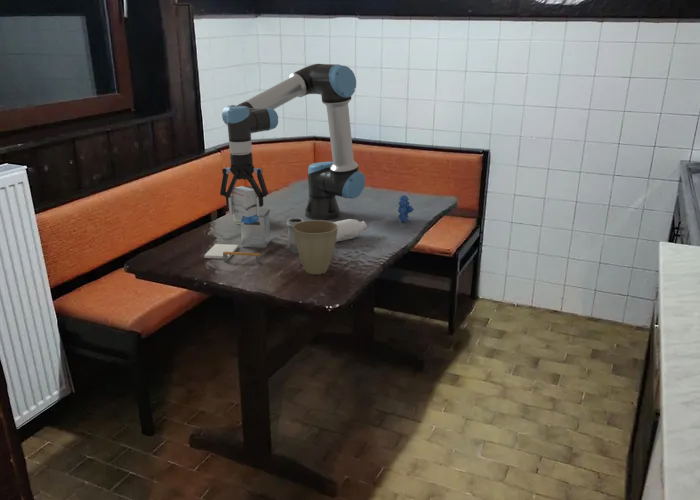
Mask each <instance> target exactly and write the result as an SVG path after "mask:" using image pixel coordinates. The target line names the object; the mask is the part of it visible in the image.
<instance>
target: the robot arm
mask: <svg viewBox="0 0 700 500" xmlns="http://www.w3.org/2000/svg"><path fill="white" fill-rule="evenodd" d="M356 88H357V79H356V75H355V73H354V71H353V70H352V69H351V68H350V67H349V66H347V65H342V64H334V63H333V64H332V63H313V64H310V65H308V66H307V65H306V66H305V67H303V68H301V69H299V70H296V71H294V72H292V73H290V74H289V76H288V78H286V79H285V80H283V81H281V82H279V83H277V84H275V85H274V86H271V87H269V88H268V89H266V90H263V92H261V93H258V94H257V95H254V96H252V97H251V98H249V99H247V100H245V101H243V102H241V103H238V105H237V104H236V105H235V104H231V105H227V106H225V107H224V108H223V110H222V111H221V113H222V114H221V118H222V121H223V123H224V124H225V125H226V126H227V134H228V144H229V145H228V146H229V152H230V154H229V155H230V157H229V159H230V167H227V166H225V167H224V168H222V170H221V171H222V180H221V187H220V192H219V194H220V195H219V196H221V197H222V196H223V197H225V204H226V206H227V207H228V208H229V209H228V210H229V211H228V212H229V216H233V214H234V209H233V200H232V193H231V192H232V189H233V188H235V185H236V183H237V181H238V180H247V182H248V183H249V185H250V187H253V189H254V190H255V192H256V196H257V198H256V202H257V216H260V215H261V209H262V207H263V206H264V198H266V197H267V195H269V192H268V189H267V186H266V181H265V179H264V176H263V168H262V167H258V168H257V167H255V166H254V163H253V161H254V160H253V152H252V151H253V147H252V134H255V133H259V132H268V131H272V130H274V129H276V128H277V126H278V124H279V115H278V113H277V112H276V110H275V109H277V108H279V107H282V105H284V104H286V103H288V102H290V101H292V100H293V99H296V98H303V97H306V96H307V95H320V96H321V102H322V104H324V105H325V106H326V113H327V121H328V122H327V123H328V131H329V137H330V138H329V140H330V147H331V154H332V155H331V156H332V161H321V162H320V161H319V162H313V163H311V164H309V166H308V168H307V170H308V171H307V172H308V173H307V179H308V181H307V183H308V185H307V186H308V199H307V203H306V206H305V209H304V210H305V211H304V214H305V217H307V218H309V219H311V220H331V219H335V218H337V217H339V216H340V207H339V204H338V200H337V198H336V196H337V197H341V198H344V199H350V200H351V199H357V198H358V197H359V196H360V195H361V194H362V193H363V191H364V188H365V186H366V176H365V174H364V173H363V172H362V171H360V170H359V163H357V162H356V161H355V160H354V159H355V158H354V148H353V141H352V140H353V138H352V129H351V119H350V109H349V103H350V101H351V100H352V96H353V95H354V94H355V92H356V90H355V89H356ZM230 173H232V175H233V177H232V179H231V181H230V184H229V186H228V179H229V174H230ZM253 173H255V175H256V178H257V181H258V183H257V181H256V179H255V177H254V175H253ZM258 184H259V185H258ZM227 186H228V187H227Z"/></svg>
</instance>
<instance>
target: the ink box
mask: <svg viewBox="0 0 700 500" xmlns="http://www.w3.org/2000/svg"><path fill="white" fill-rule="evenodd" d="M244 186H245V185H244ZM244 186H243V185H241V186H236V187H235V186H234V188H233V189H232V193H231V196H232V200H233V209H234V218H233V220H234V219H235V220H238V221H241V222H244V223H247V224H250V223H253V222H256V221H259V218H258V216H257V202H256V198H257V197H258V196H257V194H256V192H255V190H254V189H251V188H247V187H244Z"/></svg>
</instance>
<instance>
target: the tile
mask: <svg viewBox="0 0 700 500" xmlns="http://www.w3.org/2000/svg"><path fill="white" fill-rule="evenodd" d="M238 249H239V244H224V243H215V244H214V245H213V246H212V247H211V248H210V249H209V250H208V251H207V252H206V253H205V254H204V259H219V260H223V252H237V250H238ZM227 256H228V260H229V259H230V258H231V257H232V256H233V255H227Z"/></svg>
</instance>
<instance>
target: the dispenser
mask: <svg viewBox="0 0 700 500" xmlns="http://www.w3.org/2000/svg"><path fill="white" fill-rule="evenodd" d="M270 210H271V209H270V208H261V215H260V216H258V218H259V221H256V222H253V223H250V224H247V223H244V222H241V221H240V236H241V237H240V239H241V247H242V248H261V249H263V248H266V247H267V246H268V244H269V243H270V242H271V231H270V229H271V228H270V227H271V226H270ZM227 255H232V256H248V257H249V256H254V257H255V258H256V259H255V261H256V264H261V253H260V252H241V251H240V252H239V251H235V252H223V259H222V260H223V262H224V263H225V262H226V263H227V262H228V260H229V259H228V256H227Z"/></svg>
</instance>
